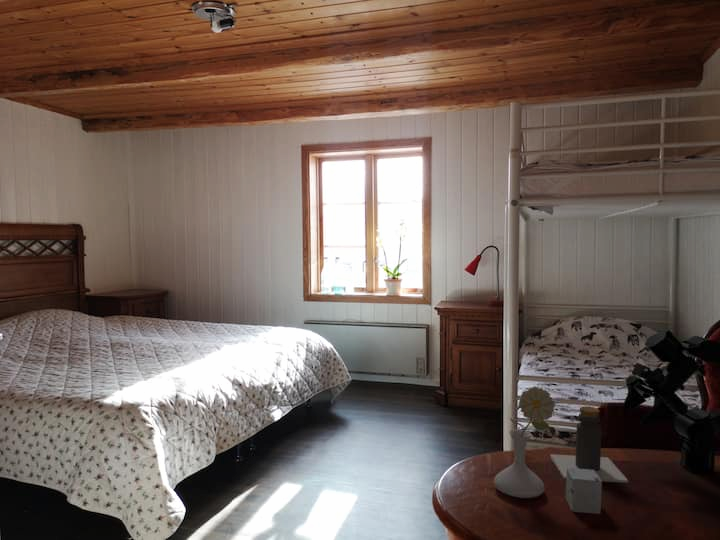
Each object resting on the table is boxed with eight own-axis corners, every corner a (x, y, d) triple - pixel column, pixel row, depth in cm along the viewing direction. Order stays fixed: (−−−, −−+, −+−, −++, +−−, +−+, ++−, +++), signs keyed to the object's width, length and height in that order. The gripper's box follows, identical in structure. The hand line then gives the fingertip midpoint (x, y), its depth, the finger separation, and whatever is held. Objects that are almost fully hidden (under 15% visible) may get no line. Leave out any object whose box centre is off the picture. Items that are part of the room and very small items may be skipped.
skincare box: (564, 498, 120) (566, 466, 119) (593, 501, 119) (594, 468, 118) (571, 512, 114) (572, 478, 113) (601, 514, 113) (602, 480, 112)
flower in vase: (490, 497, 120) (492, 388, 118) (496, 477, 130) (499, 377, 129) (551, 509, 115) (554, 395, 114) (553, 486, 125) (556, 382, 124)
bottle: (596, 473, 131) (598, 414, 131) (572, 467, 135) (574, 409, 134) (602, 466, 136) (604, 408, 135) (579, 460, 140) (581, 404, 139)
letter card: (607, 459, 142) (607, 457, 142) (628, 482, 128) (628, 480, 128) (550, 456, 143) (550, 454, 143) (563, 479, 130) (564, 476, 130)
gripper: (633, 346, 145) (592, 386, 144) (677, 361, 126) (631, 407, 126) (660, 374, 145) (619, 414, 145) (708, 393, 127) (662, 439, 127)
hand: (631, 417), depth 136 cm, fingers open, 9 cm apart
